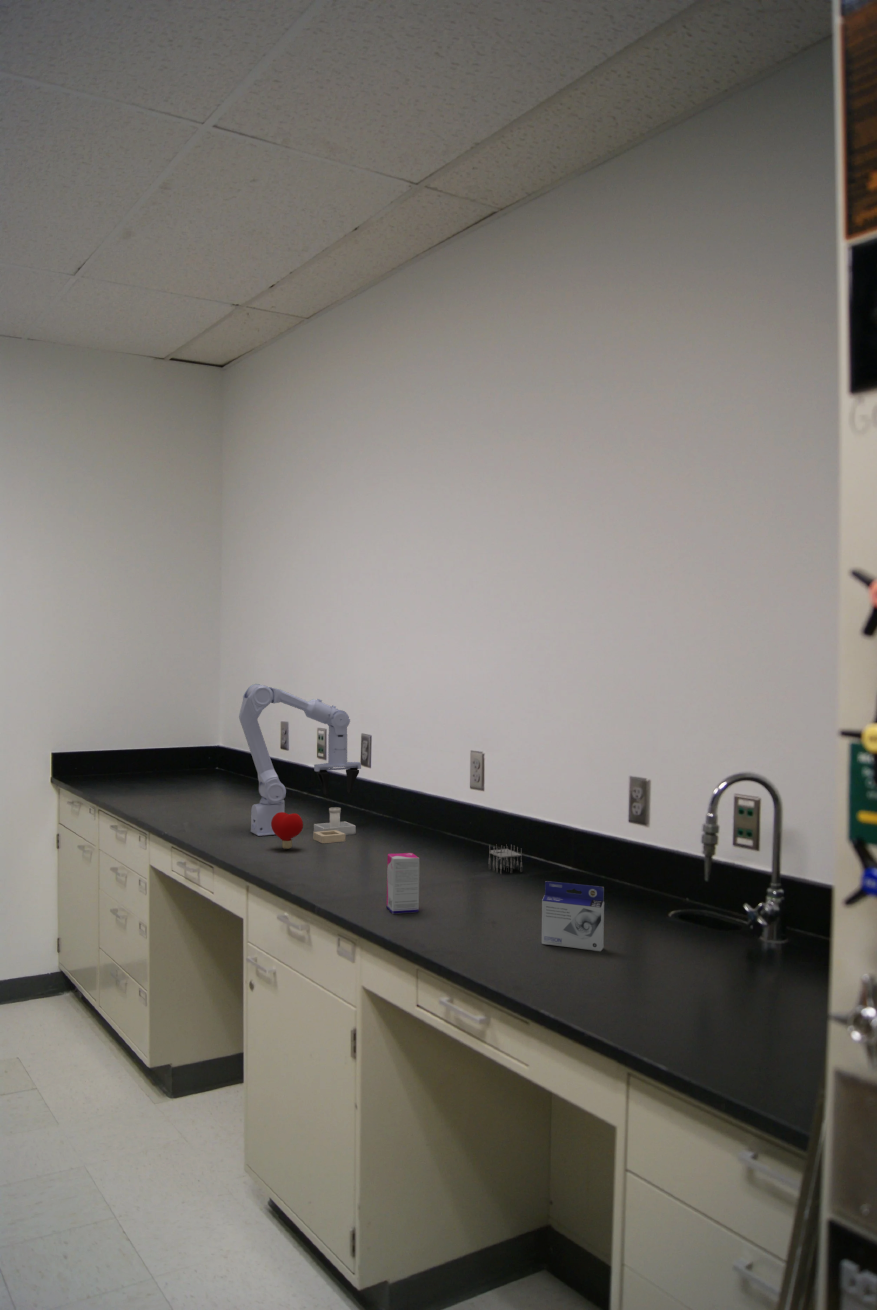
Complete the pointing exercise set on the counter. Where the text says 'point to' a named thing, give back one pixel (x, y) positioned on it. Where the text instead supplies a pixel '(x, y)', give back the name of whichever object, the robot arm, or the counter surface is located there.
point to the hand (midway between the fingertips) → (337, 793)
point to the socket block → (329, 836)
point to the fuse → (334, 816)
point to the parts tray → (336, 828)
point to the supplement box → (402, 883)
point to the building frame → (502, 854)
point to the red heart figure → (286, 827)
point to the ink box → (573, 916)
